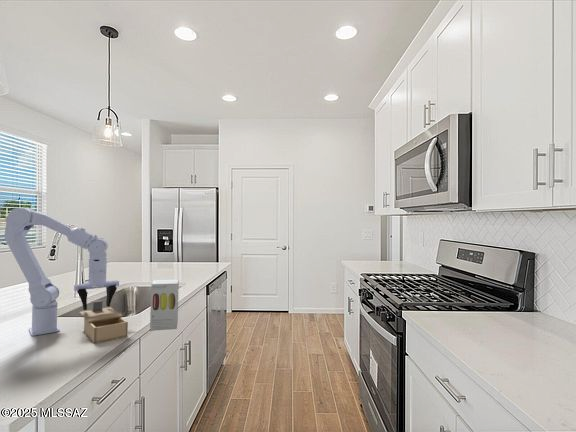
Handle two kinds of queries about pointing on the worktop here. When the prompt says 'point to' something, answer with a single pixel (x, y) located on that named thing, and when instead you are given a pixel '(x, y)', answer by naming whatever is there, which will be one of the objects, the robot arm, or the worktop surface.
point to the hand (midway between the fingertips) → (96, 307)
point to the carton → (106, 329)
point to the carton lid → (99, 312)
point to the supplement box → (164, 305)
